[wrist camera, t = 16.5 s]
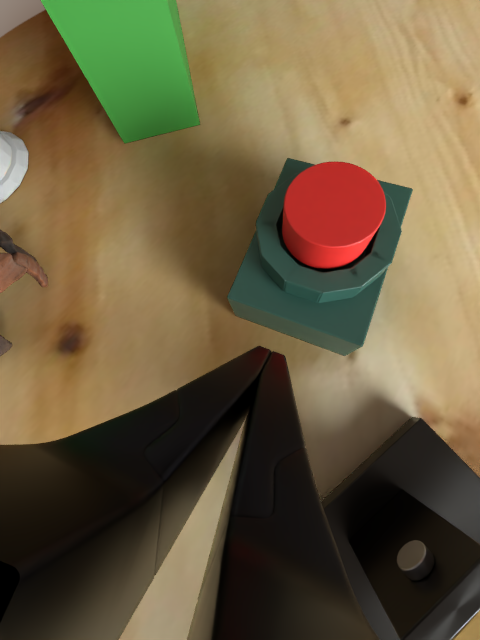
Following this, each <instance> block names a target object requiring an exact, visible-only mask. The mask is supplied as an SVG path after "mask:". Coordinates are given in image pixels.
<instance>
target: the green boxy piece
mask: <svg viewBox="0 0 480 640" xmlns="http://www.w3.org/2000/svg"><path fill="white" fill-rule="evenodd" d="M312 166H314V164H310V163H306V162H302V161H298V160H294V159H290V158H287V160H286V163H285V165H284V167H283V169H282V172H281V174H280V176H279V179H278V181H277V183H276V186H275V188H274V190H273V191H271V192H270V193H269V194H268V196H267V198H266V200H265V203H264V205H263V207H262V209H261V212H260V214H259V216H258V219H257V221H256V232H255V234H254V236H253V239H252V241H251V243H250V246H249V248H248V250H247V252H246V255H245V257H244V259H243V262H242V264H241V266H240V269H239V271H238V273H237V276H236V278H235V280H234V282H233V285H232V287H231V289H230V292H229V294H228V296H227V299H228V301H229V303H230V305H231V307H232V309H233V312H234V314H235V316H238V317H241V318H243V319H246V320H249V321H251V322H254V323H257V324H259V325H262V326H265V327H268V328H270V329H273V330H276V331H278V332H281V333H284V334H286V335H289V336H292V337H295V338H297V339H300V340H303V341H305V342H308V343H311V344H313V345H316V346H319V347H322V348H324V349H327V350H330V351H332V352H335V353H338V354H341V355H343V356H346V355H348V354H349V353H351V352H353V351H355V350H357V349H358V348H360V347H362V346H363V344H364V341H365V338H366V335H367V331H368V328H369V325H370V322H371V319H372V316H373V313H374V310H375V306H376V303H377V300H378V297H379V294H380V291H381V288H382V284H383V281H384V278H385V275H386V272H387V269H388V267H389V265H390V264H391V263H392V260H393V257H394V254H395V251H396V248H397V244H398V241H399V238H400V235H401V232H402V231H401V225H402V222H403V219H404V216H405V212H406V209H407V206H408V203H409V200H410V197H411V194H412V191H413V189H411V188H407V187H403V186H399V185H395V184H391V183H387V182H383V181H379V180H377V181H378V182H379V184H380V186H381V187H382V189H383V192H384V195H385V199H386V211H385V215H384V218H383V221H382V223H381V225H380V226H379V228H378V229H377V231H376V232H375V234H374V236H373V237H372V239H371V240H370V242H369V244H368V245H367V247H366V248H365V250H364V251H363V253H362V254H361V255H360V256H359V257H358V258H357V259H356V260H354V261H353V262H351V263H349V264H347V265H345V266H342V267H339V268H334V269H319V268H314V267H311V266H308V265H306V264H304V263H302V262H300V261H299V260H297V259H296V258H295V257H294V256H293V255H292V254H291V253H290V252H289V250H288V249H287V247H286V245H285V243H284V240H283V235H282V224H283V208H284V198H285V194H286V191H287V189H288V187H289V185H290V184H291V182H292V181H293V180H294V179H295V178H296V177H297V176H298V175H299V174H300V173H301V172H303V171H304V170H306V169H308V168H310V167H312Z"/></svg>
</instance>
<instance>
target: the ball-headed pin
mask: <svg viewBox="0 0 480 640" xmlns="http://www.w3.org/2000/svg"><path fill="white" fill-rule="evenodd" d="M27 169H28V151H27V149H26V146H25V144H24V142H23V140H22V139H20V138H18V137H17V136H15V135H14V134H12V133H11V132H3V131H0V203H1V202H3V201H5V200H6V199H7V198H8V197H9V196H10V195H11V194H12V193H13V192H14V191H15V190H16V188H17V187H18V186H19V185H20V183H21V181H22V179H23V177H24V175H25V173H26V171H27Z"/></svg>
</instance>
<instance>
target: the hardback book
mask: <svg viewBox="0 0 480 640" xmlns="http://www.w3.org/2000/svg"><path fill="white" fill-rule="evenodd" d="M41 2H42V3H43V5H44V7H45V9H46V10H47V12H48V14H49V16H50V17H51V19H52V21H53V22H54V24H55V26H56V27H57V29H58V31H59V33H60V34H61V36H62V38H63V39H64V41H65V43H66V45H67V46H68V48H69V50H70V51H71V53H72V55H73V57H74V58H75V60H76V62H77V63H78V65H79V67H80V68H81V70H82V72H83V74H84V75H85V77H86V79H87V80H88V82H89V84H90V86H91V87H92V89H93V91H94V92H95V94H96V96H97V97H98V99H99V101H100V103H101V104H102V106H103V108H104V109H105V111H106V113H107V115H108V116H109V118H110V120H111V121H112V123H113V125H114V127H115V128H116V130H117V132H118V133H119V135H120V137H121V138H122V140H123V142H124V143H128V142H132V141H136V140H140V139H144V138H148V137H152V136H156V135H160V134H164V133H168V132H172V131H176V130H180V129H184V128H188V127H192V126H196V125H200V122H199V117H198V112H197V107H196V102H195V96H194V91H193V86H192V81H191V76H190V71H189V65H188V60H187V55H186V50H185V45H184V39H183V34H182V29H181V24H180V19H179V14H178V8H177V3H176V0H41Z"/></svg>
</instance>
